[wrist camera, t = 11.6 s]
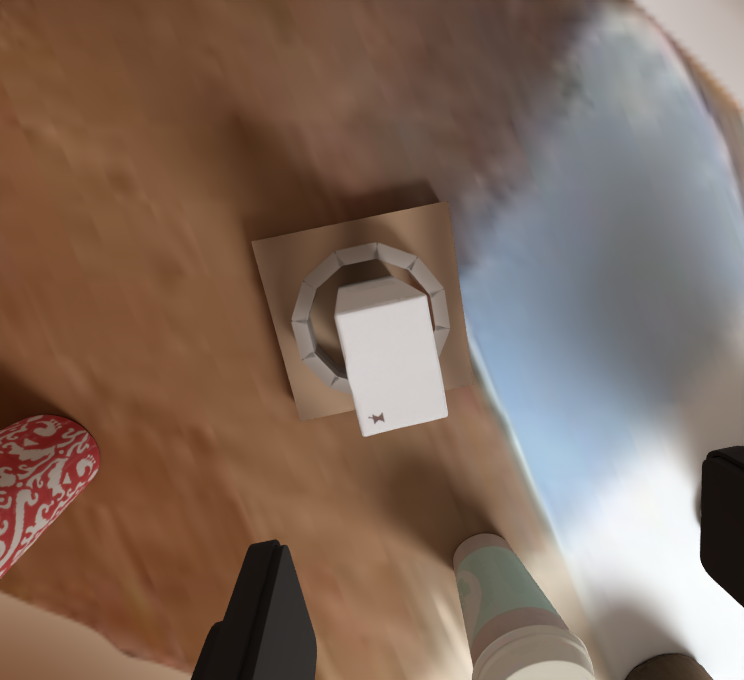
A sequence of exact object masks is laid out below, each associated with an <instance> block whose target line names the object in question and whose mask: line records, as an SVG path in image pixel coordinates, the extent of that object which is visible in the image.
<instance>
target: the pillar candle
mask: <svg viewBox="0 0 744 680" xmlns="http://www.w3.org/2000/svg"><path fill="white" fill-rule="evenodd" d="M626 680H713V679H712V677H711V676H710V675H709V674H708V673H707V671H706V670H705V669H704V668H703V666H702V665H700V664H699V663H697V662H696V661H695V660H693V659H691V658H689V657H686V656H683V655H679V654H668V655H662V656H659V657H656V658H653V659H651V660H649V661H648V662H645V663H644V664H642V665H640V666H638V667H637V668H635V669H634V670H633V671H631V672H630V674H629V675H628V677H627V679H626Z"/></svg>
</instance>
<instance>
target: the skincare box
mask: <svg viewBox="0 0 744 680" xmlns="http://www.w3.org/2000/svg"><path fill="white" fill-rule="evenodd" d="M334 319H335V323H336V327H337V331H338V336H339V340H340V344H341V348H342V353H343V357H344V361H345V366H346V372H347V378H348V382H349V385H350V389H351V393H352V397H353V401H354V405H355V409H356V414H357V418H358V422H359V426H360V429H361V433H362V435H363V436H364V437H366V436H370V435H374V434H378V433H382V432H385V431H389V430H393V429H397V428H401V427H406V426H410V425H415V424H419V423H424V422H428V421H432V420H436V419H440V418H444V417H447V416H448V411H447V405H446V399H445V392H444V386H443V380H442V374H441V369H440V365H439V360H438V355H437V350H436V345H435V340H434V334H433V329H432V323H431V318H430V312H429V307H428V302H427V295H426V294H424V293H422V292H421V291H419V290H417V289H415V288H414V287H412V286H410V285H408V284H406V283H405V282H403V281H401V280H399V279H398V278H396V277H394V276H387V277H382V278H378V279H373V280H368V281H363V282H358V283H353V284H348V285H343V286H340V287H339V288H338V294H337V300H336V307H335V314H334Z"/></svg>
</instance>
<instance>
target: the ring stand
mask: <svg viewBox="0 0 744 680" xmlns="http://www.w3.org/2000/svg"><path fill="white" fill-rule="evenodd" d="M251 243H252V247H253V251H254V254H255V258H256V262H257V265H258V269H259V272H260V276H261V280H262V283H263V287H264V291H265V294H266V298H267V302H268V305H269V309H270V312H271V316H272V320H273V323H274V327H275V331H276V334H277V338H278V341H279V345H280V349H281V352H282V356H283V360H284V363H285V367H286V370H287V374H288V378H289V381H290V385H291V389H292V392H293V396H294V400H295V403H296V407H297V410H298V414H299V418H300V421H305V420H310V419H315V418H319V417H324V416H329V415H333V414H338V413H343V412H347V411H352V410H356V409H355V405H354V401H353V397H352V393H351V389H350V385H349V382H348V378H347V372H346V366H345V361H344V357H343V353H342V348H341V344H340V340H339V336H338V331H337V327H336V323H335V319H334V314H335V307H336V300H337V294H338V288H339V287H340V286H343V285H348V284H353V283H358V282H363V281H368V280H373V279H378V278H382V277H387V276H394V277H396V278H398V279H399V280H401V281H403V282H405V283H406V284H408V285H410V286H412V287H414V288H415V289H417V290H419V291H421V292H422V293H424V294H426V295H427V302H428V307H429V312H430V318H431V323H432V329H433V334H434V340H435V345H436V350H437V355H438V360H439V365H440V369H441V374H442V380H443V386H444V391H445V390H450V389H455V388H459V387H464V386H469V385H473V384H474V383H473V376H472V369H471V362H470V355H469V348H468V341H467V333H466V326H465V319H464V312H463V305H462V298H461V291H460V284H459V276H458V269H457V262H456V255H455V248H454V241H453V234H452V226H451V219H450V212H449V205H448V201H444V202H439V203H435V204H430V205H425V206H420V207H415V208H410V209H406V210H401V211H396V212H391V213H386V214H382V215H377V216H372V217H367V218H362V219H357V220H353V221H348V222H343V223H338V224H333V225H329V226H324V227H319V228H314V229H309V230H304V231H300V232H295V233H290V234H285V235H280V236H276V237H271V238H266V239H261V240H256V241H252V242H251Z"/></svg>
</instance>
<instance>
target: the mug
mask: <svg viewBox="0 0 744 680" xmlns="http://www.w3.org/2000/svg"><path fill="white" fill-rule="evenodd" d="M99 464H100V453H99V449H98V446H97V444H96V442H95V440H94V438H93V437H92V436H91V435H90V434H89V433H88V432H87V431H86V430H85V429H84V428H83V427H82V426H80V425H79V424H77V423H75V422H73V421H71V420H69V419H67V418H64V417H60V416H55V415H37V416H32V417H28V418H26V419H23V420H21V421H19V422H17V423H15V424H12V425H10V426H8V427H6V428H4V429H2V430H0V578H1V577H2V576H3V575H4V574H5V573H6V572H7V571H8V570H9V569H10V568H11V567H12V566H13V565H14V563H15V562H16V561H17V560H18V559H19V558H20V557H21V556H22V555H23V553H24V552H25V551H26V550H27V549H28V548H29V547H30V546H31V545H32V544H33V543H34V542H35V541H36V540H37V539H38V537H39V536H40V535H41V534H42V533H43V532H44V531H45V530H46V529H47V528H48V527H49V526H50V525H51V524H52V523H53V521H54V520H55V519H56V518H57V517H58V516H59V515H60V514H61V513H62V512H63V511H64V510H65V509H66V507H67V506H68V505H69V504H70V503H71V502H72V501H73V500H74V499H75V498H76V497H77V496H78V495H79V494H80V493H81V492H82V491H83V489H84V488H85V487H86V486H87V485H88V484H89V483H90V482H91V480H92V479H93V478H94V477H95V475H96V473H97V471H98V469H99Z"/></svg>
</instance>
